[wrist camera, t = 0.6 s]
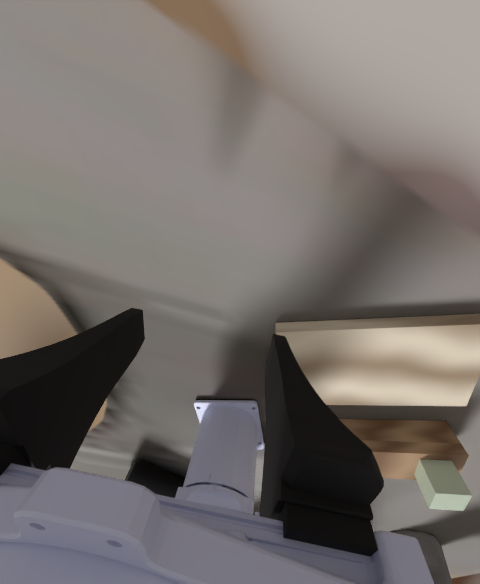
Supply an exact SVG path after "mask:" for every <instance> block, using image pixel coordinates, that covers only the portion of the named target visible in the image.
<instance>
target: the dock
mask: <svg viewBox="0 0 480 584" xmlns="http://www.w3.org/2000/svg"><path fill="white" fill-rule="evenodd" d="M275 332H276V335H282V336H285V337H286V338H287V341H288V343H289V346H290V348H291V350H292V352H293V354H294V356H295V358H296V360H297V362H298V364H299V366H300V368H301V369H302V371H303V373H304V375H305V376H306V378H307V379H308V381H309V383H310V384H311V386H312V387H313V388H314V390H315V391H316V393H317V394H318V395H319V397H320V398H321V399H322V400H323V402H324V403H325V404H326V405H390V406H467V404H468V401H469V399H470V396H471V394H472V392H473V389H474V387H475V384H476V382H477V380H478V377H479V375H480V314H460V315H438V316H417V317H395V318H373V319H351V320H329V321H307V322H285V323H275Z"/></svg>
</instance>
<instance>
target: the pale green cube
mask: <svg viewBox="0 0 480 584" xmlns="http://www.w3.org/2000/svg"><path fill="white" fill-rule="evenodd" d="M414 475H415V478H416V480H417V482H418V485H419V487H420V489H421V491H422V494H423V496H424V498H425V500H426V503H427V505H428V507H429V509H443V510H456V511H464V509H465V507H466V506H467V504H468V502H469V500H470V499H471V497H472V494H471V492H470V491H469V489H468V487H467V486H466V484H465V482H464V481H463V479H462V477H461V475H460V474H459V472H458V470H457V469H456V467H455V465H454V463H453V462H452V461H446V460H424V459H419V462H418V465H417V468H416V471H415V474H414Z"/></svg>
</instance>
